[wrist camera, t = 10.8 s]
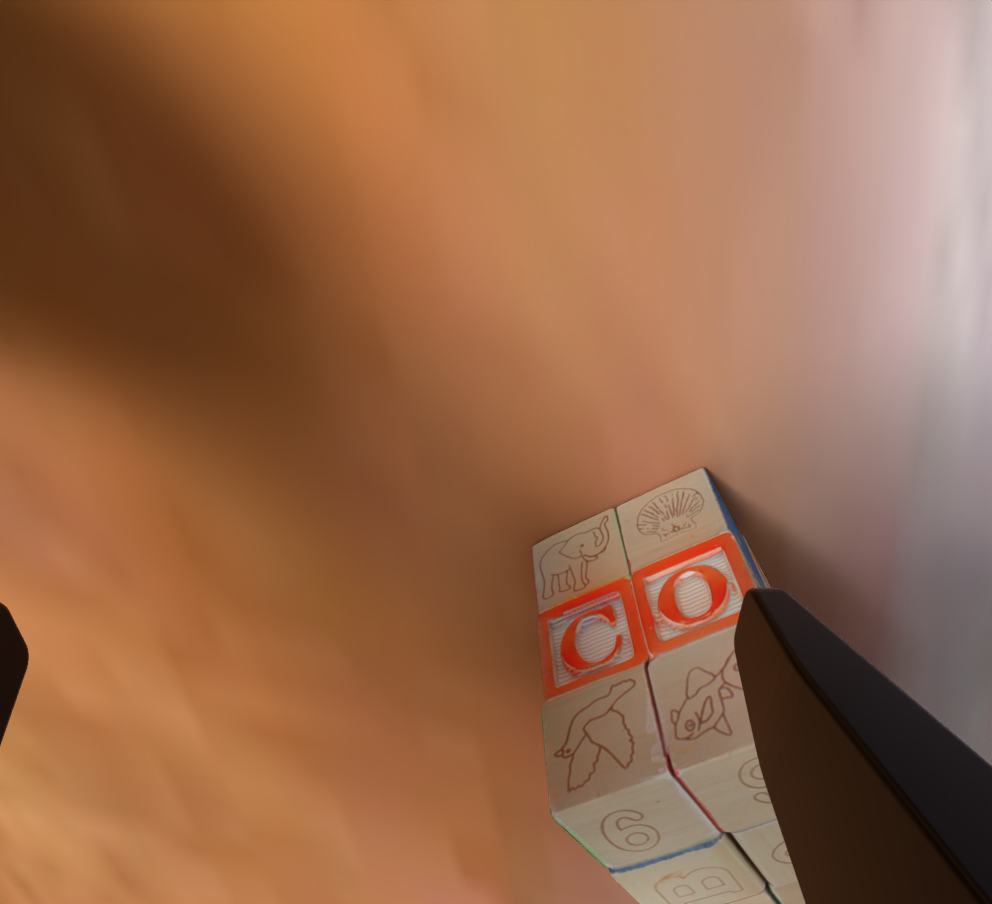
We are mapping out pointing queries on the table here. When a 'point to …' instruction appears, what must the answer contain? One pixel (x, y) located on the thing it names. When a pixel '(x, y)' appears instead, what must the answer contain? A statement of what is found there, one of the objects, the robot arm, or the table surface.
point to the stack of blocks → (657, 700)
